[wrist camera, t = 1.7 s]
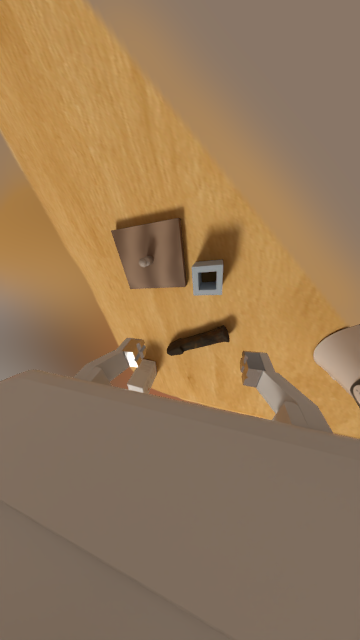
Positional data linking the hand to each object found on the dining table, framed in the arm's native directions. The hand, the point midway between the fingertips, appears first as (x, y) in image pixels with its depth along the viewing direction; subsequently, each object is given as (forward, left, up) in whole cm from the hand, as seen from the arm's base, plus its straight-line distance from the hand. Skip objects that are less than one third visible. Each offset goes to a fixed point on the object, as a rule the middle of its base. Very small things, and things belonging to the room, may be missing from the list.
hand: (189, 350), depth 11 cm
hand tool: (+4, +17, -22) cm, 28 cm away
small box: (+23, +33, -21) cm, 46 cm away
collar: (0, -1, -21) cm, 21 cm away
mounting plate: (+12, -5, -21) cm, 25 cm away
